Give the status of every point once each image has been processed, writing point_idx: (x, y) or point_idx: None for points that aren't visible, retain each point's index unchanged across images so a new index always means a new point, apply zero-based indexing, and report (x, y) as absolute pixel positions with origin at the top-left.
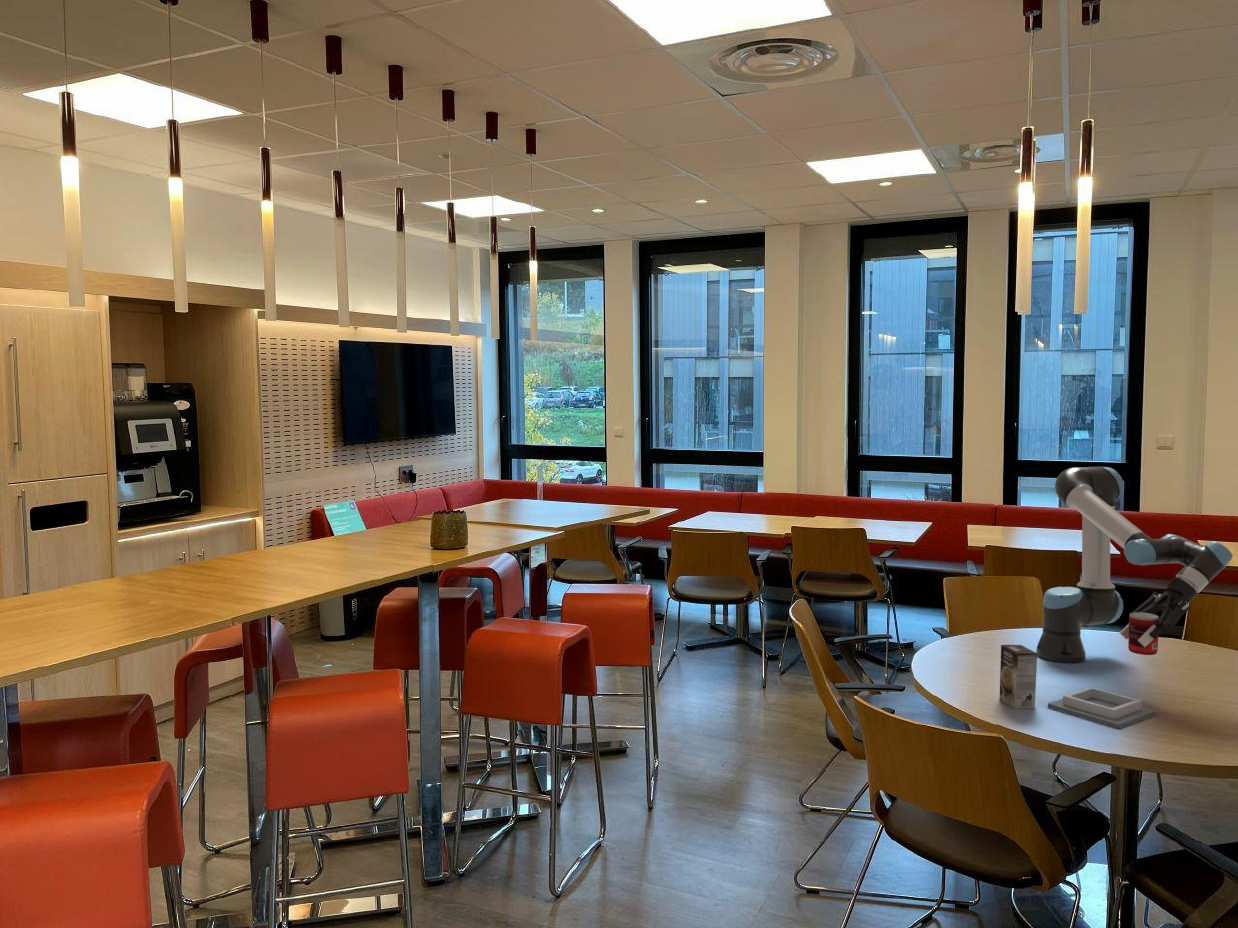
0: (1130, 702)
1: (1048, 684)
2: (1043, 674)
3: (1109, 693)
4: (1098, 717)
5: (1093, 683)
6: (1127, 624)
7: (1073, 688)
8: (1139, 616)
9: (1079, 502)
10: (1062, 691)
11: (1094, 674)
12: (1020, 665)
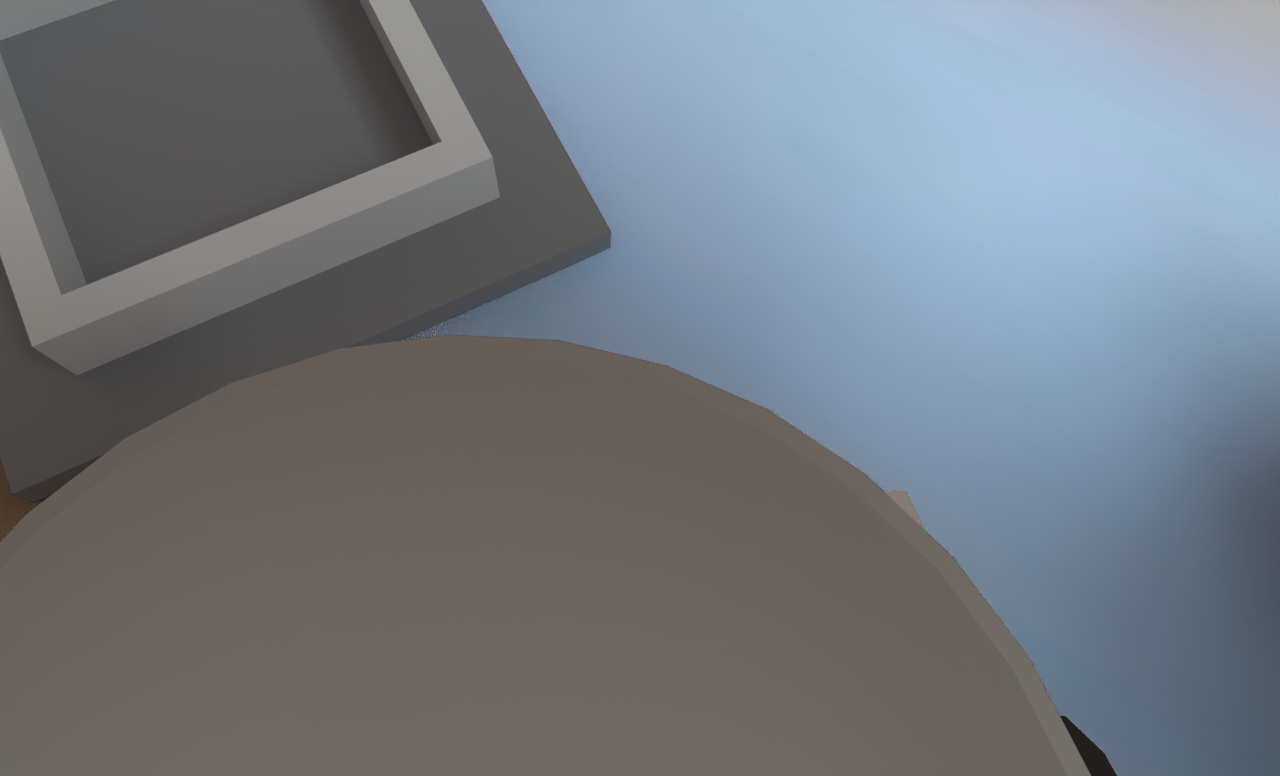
0: (22, 217)
1: (897, 123)
2: (1175, 232)
3: (297, 203)
4: None
5: (922, 507)
6: (1084, 741)
7: (786, 250)
8: (520, 714)
9: None
10: (716, 125)
11: (1219, 706)
12: None
